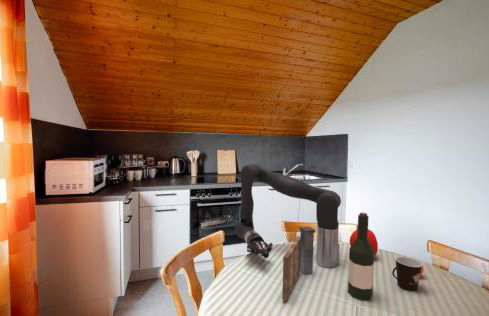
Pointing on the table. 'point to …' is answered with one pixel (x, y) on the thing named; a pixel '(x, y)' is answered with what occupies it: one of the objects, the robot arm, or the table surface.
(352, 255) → the wine bottle
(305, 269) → the gate post
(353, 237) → the tomato
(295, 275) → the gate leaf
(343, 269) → the table surface
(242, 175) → the robot arm
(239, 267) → the table surface
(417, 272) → the coffee mug
